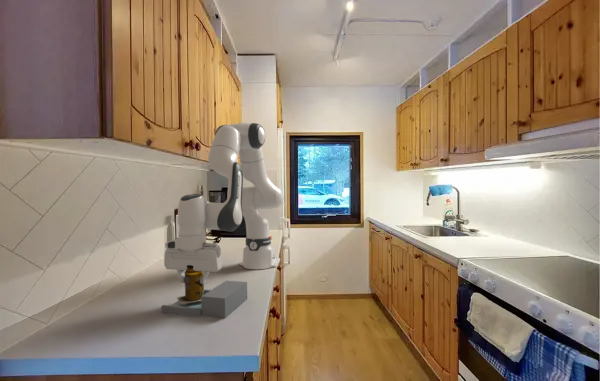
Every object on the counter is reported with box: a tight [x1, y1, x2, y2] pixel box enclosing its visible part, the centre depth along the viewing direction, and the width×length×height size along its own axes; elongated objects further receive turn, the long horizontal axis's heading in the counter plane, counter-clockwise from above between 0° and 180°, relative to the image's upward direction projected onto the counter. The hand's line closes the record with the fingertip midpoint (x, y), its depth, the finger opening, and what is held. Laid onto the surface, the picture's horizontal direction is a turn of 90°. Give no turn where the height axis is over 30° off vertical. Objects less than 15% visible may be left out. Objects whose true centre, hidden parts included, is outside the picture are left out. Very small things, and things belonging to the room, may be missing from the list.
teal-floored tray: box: [160, 280, 248, 319], centre depth 105 cm, size 17×22×6 cm
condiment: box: [176, 265, 205, 304], centre depth 106 cm, size 7×8×12 cm
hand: (193, 283), depth 106 cm, fingers closed on condiment, 6 cm apart
